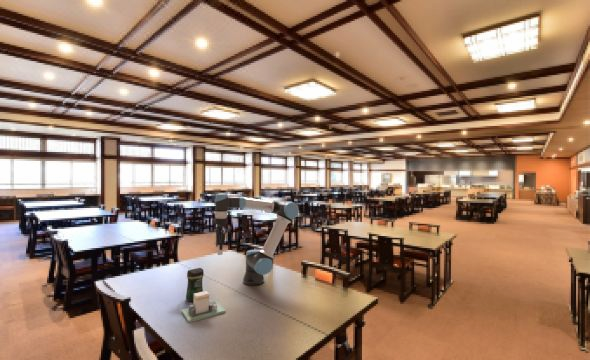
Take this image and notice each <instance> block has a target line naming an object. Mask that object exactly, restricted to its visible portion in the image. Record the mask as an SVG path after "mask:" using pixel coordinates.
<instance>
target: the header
mask: <svg viewBox="0 0 590 360" xmlns="http://www.w3.org/2000/svg"><path fill="white" fill-rule="evenodd" d="M188 308H189V313H190V315H191V316H192V317H195V316H198V315H202V314H206V313H209V312H213V305H212V304H211V303H210V301H209V311H206V312H202V313H199V314H195V310H194V308H193V304H190V305H188Z"/></svg>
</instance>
